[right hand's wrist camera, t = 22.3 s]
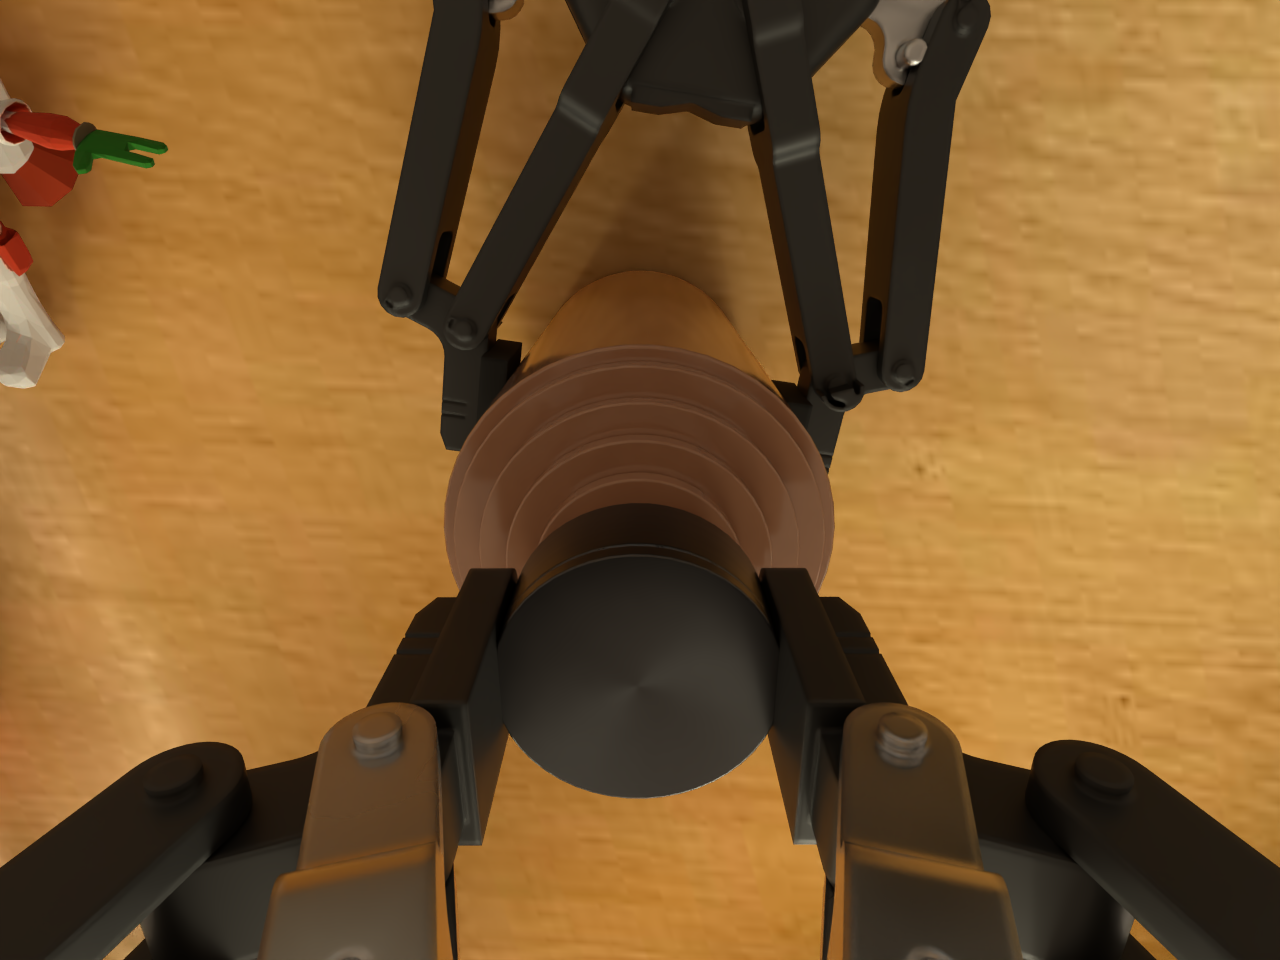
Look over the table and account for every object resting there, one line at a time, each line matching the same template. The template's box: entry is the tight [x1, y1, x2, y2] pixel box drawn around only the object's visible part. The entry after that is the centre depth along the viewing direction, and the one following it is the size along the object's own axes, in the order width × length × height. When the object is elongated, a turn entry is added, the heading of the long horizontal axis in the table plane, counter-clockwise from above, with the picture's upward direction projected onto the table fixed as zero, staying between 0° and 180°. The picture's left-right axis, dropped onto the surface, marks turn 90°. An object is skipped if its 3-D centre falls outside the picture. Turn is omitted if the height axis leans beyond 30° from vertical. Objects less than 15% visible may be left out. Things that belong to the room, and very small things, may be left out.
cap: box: [497, 503, 780, 798], centre depth 11 cm, size 4×4×2 cm
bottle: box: [444, 271, 835, 593], centre depth 20 cm, size 8×8×19 cm
